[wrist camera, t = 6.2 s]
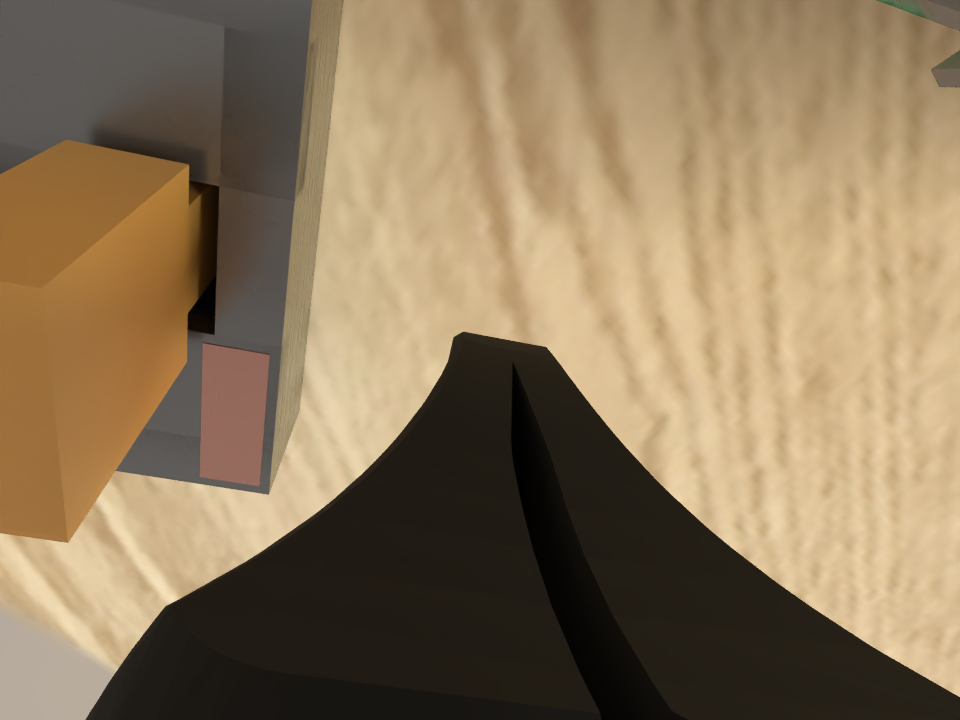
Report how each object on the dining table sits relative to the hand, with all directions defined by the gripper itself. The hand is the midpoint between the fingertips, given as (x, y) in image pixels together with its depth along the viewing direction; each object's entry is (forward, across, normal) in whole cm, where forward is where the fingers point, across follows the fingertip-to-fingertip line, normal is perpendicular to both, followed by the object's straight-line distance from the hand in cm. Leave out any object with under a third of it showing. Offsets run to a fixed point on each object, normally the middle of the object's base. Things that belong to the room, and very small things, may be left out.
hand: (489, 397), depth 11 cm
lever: (+6, +6, 0) cm, 8 cm away
